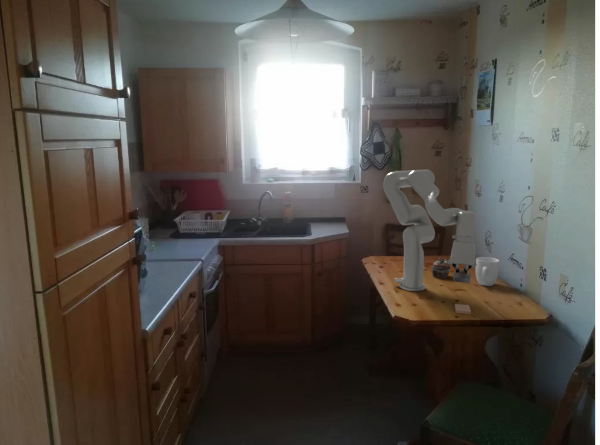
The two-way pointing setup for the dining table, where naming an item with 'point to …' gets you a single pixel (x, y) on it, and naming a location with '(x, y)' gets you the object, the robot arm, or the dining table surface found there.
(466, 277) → the scraper
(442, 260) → the cupcake
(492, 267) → the mug
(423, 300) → the dining table surface
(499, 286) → the dining table surface
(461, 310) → the tile
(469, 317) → the dining table surface
